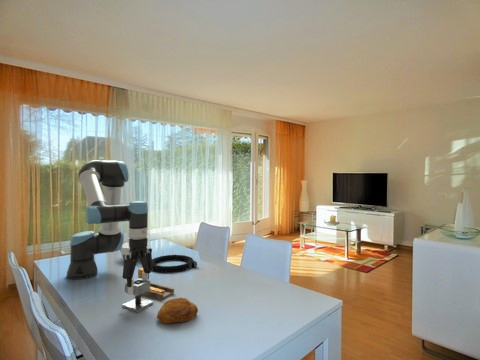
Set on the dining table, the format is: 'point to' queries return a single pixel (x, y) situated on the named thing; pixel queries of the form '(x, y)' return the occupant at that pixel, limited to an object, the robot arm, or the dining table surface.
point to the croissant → (177, 311)
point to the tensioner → (150, 283)
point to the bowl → (127, 249)
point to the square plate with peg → (138, 302)
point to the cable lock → (188, 265)
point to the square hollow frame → (140, 287)
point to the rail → (157, 295)
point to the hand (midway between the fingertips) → (138, 290)
